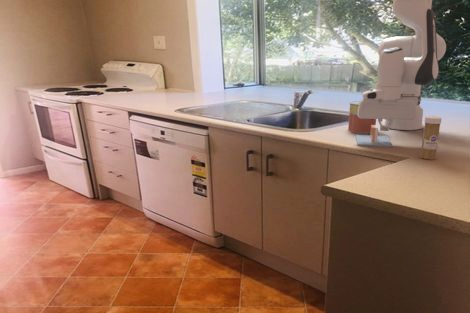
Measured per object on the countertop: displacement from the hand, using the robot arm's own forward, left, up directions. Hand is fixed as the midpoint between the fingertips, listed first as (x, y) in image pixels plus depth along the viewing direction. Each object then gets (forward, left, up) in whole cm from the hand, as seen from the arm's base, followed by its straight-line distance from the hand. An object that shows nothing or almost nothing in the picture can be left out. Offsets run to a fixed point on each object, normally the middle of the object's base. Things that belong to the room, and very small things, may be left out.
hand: (384, 130), depth 139 cm
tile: (0, -4, -4) cm, 5 cm away
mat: (0, -4, -4) cm, 6 cm away
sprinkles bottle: (+20, +11, -5) cm, 23 cm away
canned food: (-20, -7, -5) cm, 22 cm away
